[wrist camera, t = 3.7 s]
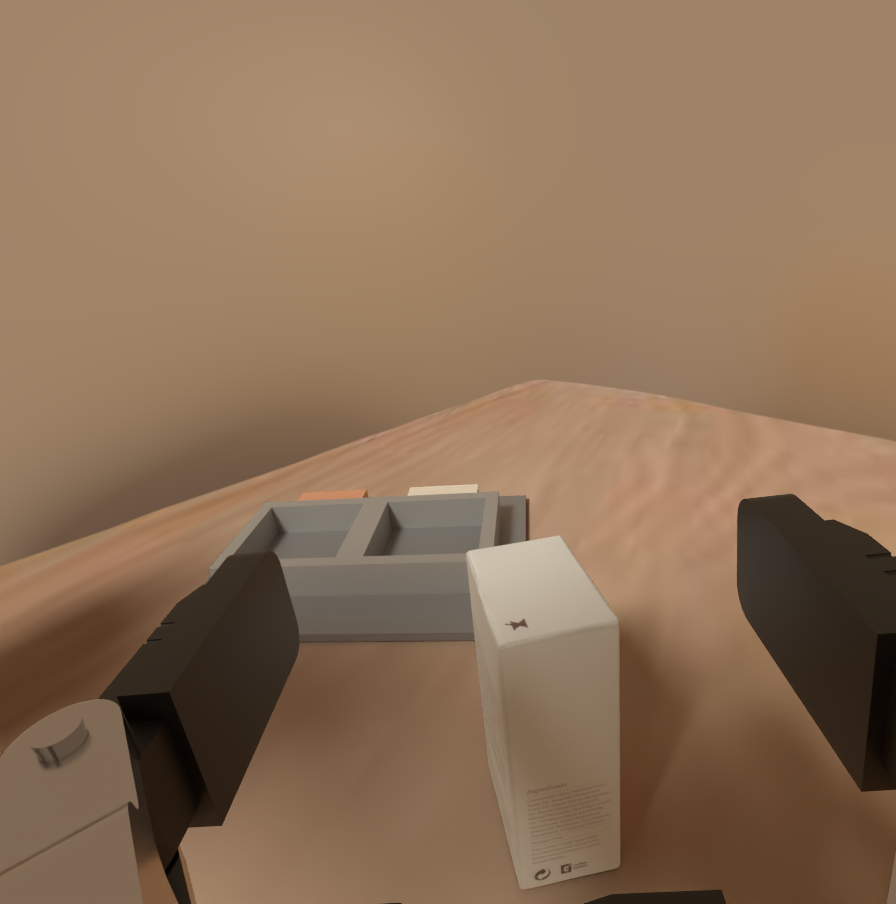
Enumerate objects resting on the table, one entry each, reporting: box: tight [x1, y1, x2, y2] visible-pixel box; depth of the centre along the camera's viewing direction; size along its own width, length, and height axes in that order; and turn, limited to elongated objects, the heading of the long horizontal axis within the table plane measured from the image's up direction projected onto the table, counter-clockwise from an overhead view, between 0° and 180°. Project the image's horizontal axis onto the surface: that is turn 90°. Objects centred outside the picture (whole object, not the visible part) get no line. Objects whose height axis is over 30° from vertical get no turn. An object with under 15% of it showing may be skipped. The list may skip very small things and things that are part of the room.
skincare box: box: [466, 535, 621, 890], centre depth 24 cm, size 6×4×12 cm
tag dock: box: [204, 484, 526, 642], centre depth 46 cm, size 24×18×3 cm
